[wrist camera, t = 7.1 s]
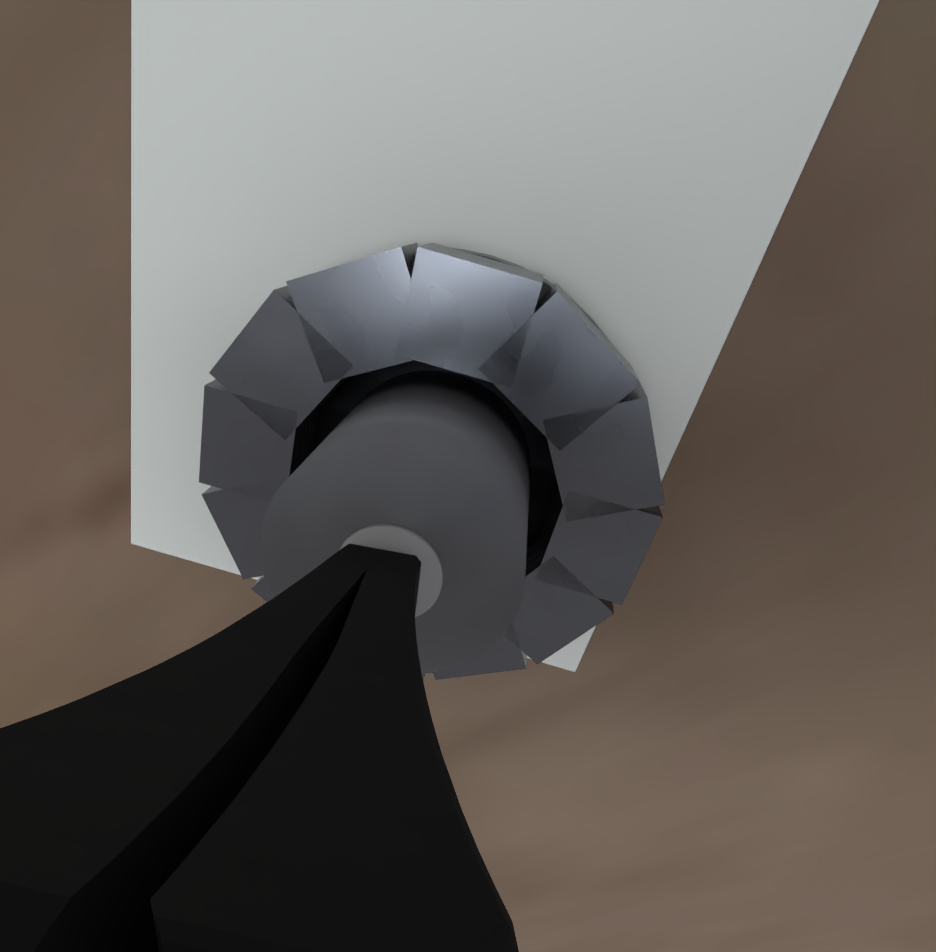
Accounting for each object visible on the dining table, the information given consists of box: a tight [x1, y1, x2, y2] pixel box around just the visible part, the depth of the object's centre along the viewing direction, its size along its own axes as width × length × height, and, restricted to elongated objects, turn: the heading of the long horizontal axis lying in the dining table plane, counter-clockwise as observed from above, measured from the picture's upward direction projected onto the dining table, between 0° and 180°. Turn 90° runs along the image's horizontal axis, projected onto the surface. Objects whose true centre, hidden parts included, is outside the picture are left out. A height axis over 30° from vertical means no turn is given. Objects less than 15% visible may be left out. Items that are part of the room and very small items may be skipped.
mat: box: [131, 0, 879, 672], centre depth 14 cm, size 15×24×1 cm, turn 166°
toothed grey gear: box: [199, 243, 665, 680], centre depth 15 cm, size 11×11×3 cm
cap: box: [260, 370, 531, 674], centre depth 13 cm, size 5×5×5 cm
